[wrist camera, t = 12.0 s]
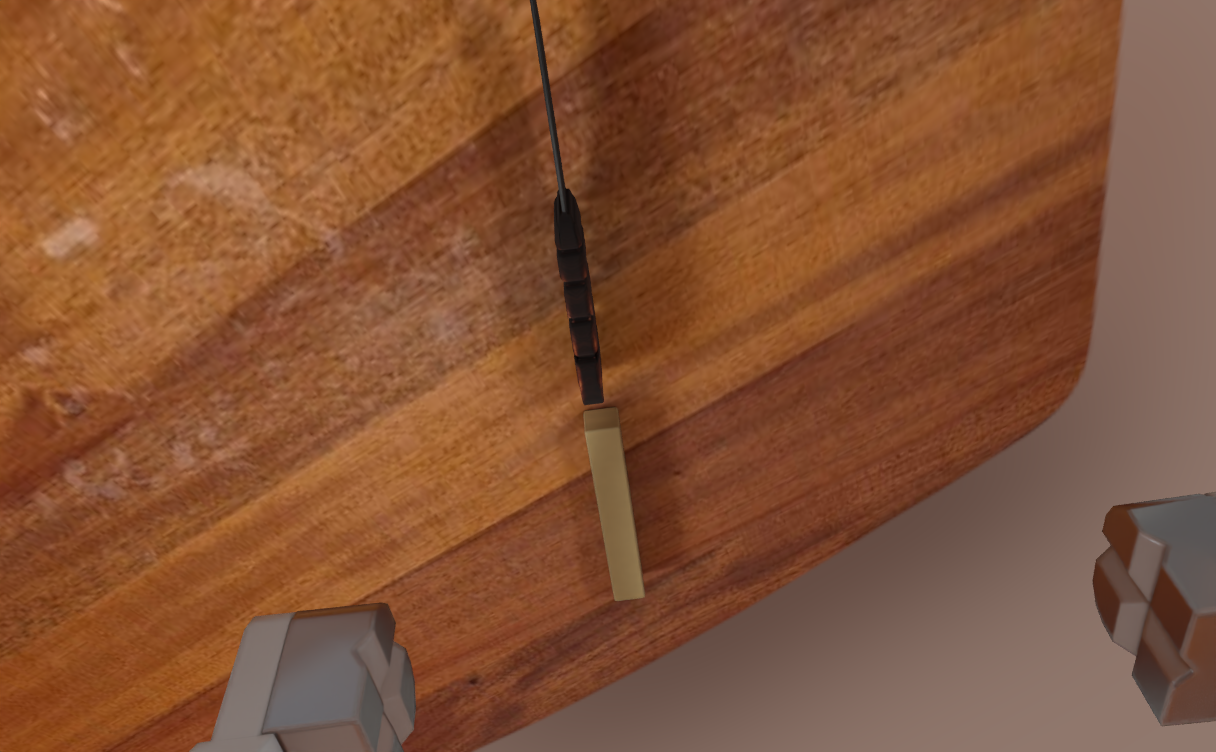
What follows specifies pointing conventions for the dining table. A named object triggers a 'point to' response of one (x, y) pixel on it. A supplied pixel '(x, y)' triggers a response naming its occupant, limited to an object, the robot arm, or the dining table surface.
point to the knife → (572, 259)
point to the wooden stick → (614, 502)
